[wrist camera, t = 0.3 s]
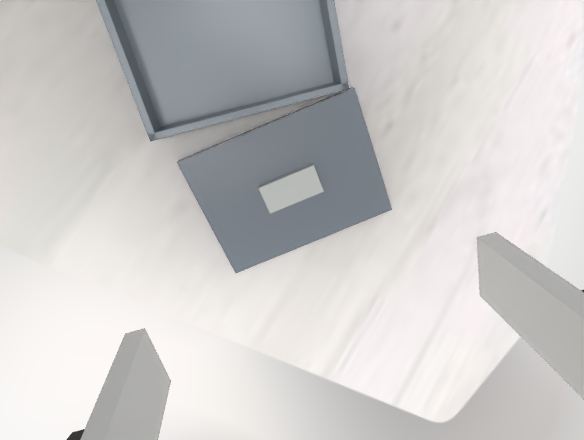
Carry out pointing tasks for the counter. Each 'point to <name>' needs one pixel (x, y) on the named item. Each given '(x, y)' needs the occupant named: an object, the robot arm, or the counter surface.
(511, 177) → the counter surface
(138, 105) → the bin
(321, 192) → the bin lid
